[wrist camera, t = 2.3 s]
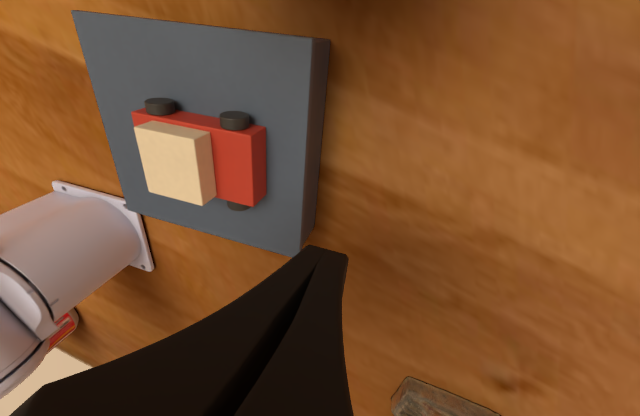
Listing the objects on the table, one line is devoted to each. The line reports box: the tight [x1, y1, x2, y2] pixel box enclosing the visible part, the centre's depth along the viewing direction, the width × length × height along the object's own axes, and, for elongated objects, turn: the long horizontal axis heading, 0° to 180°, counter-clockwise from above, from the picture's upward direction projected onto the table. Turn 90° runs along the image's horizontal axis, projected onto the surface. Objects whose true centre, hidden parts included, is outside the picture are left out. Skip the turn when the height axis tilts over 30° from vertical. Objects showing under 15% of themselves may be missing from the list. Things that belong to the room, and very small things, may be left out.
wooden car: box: [131, 98, 266, 211], centre depth 17 cm, size 7×5×3 cm
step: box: [71, 10, 330, 258], centre depth 20 cm, size 13×12×4 cm
